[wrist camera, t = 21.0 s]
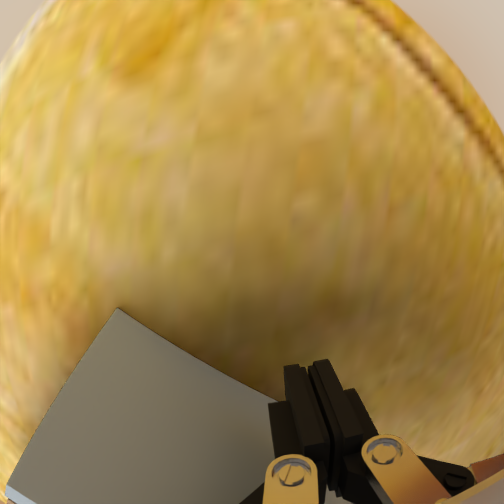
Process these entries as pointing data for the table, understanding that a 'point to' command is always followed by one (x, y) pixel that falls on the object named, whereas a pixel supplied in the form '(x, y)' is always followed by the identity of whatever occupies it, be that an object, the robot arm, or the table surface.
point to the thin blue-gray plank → (147, 429)
